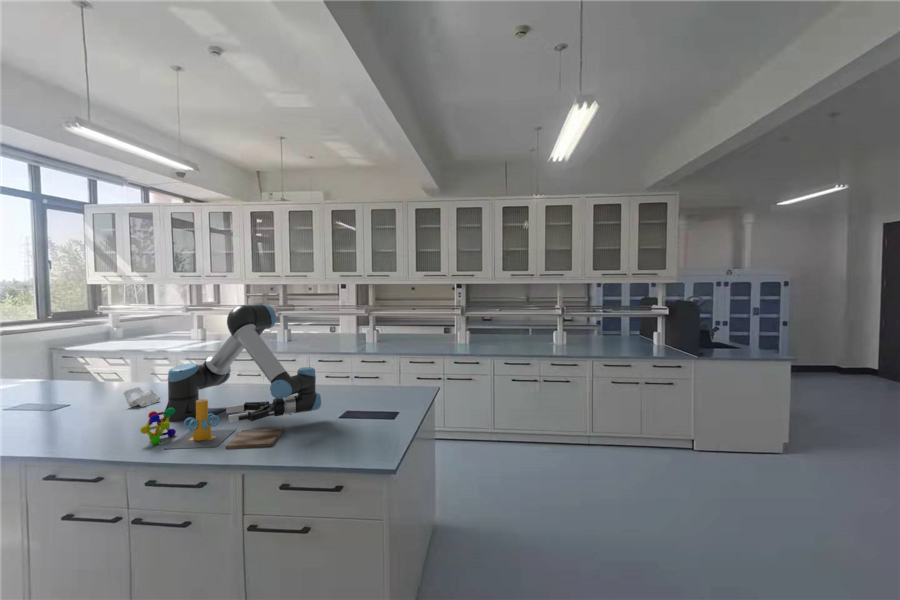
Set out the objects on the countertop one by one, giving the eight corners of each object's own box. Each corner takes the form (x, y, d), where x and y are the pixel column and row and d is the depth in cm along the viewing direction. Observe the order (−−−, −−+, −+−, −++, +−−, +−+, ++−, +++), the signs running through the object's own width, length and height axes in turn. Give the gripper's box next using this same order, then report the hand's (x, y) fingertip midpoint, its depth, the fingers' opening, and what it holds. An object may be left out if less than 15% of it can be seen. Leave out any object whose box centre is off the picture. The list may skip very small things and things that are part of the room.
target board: (242, 433, 160) (242, 430, 160) (283, 431, 162) (283, 428, 162) (225, 448, 144) (225, 445, 144) (271, 446, 146) (271, 443, 146)
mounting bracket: (151, 404, 204) (143, 385, 205) (162, 400, 204) (153, 381, 204) (131, 411, 193) (122, 391, 193) (142, 407, 192) (133, 387, 192)
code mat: (189, 431, 161) (189, 431, 161) (235, 429, 163) (235, 429, 163) (163, 449, 143) (163, 448, 143) (216, 447, 146) (216, 446, 146)
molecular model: (157, 445, 146) (157, 415, 146) (138, 445, 146) (138, 415, 146) (178, 435, 158) (178, 406, 158) (161, 435, 158) (161, 406, 158)
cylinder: (200, 445, 146) (200, 405, 146) (177, 443, 148) (177, 404, 148) (225, 433, 158) (225, 397, 158) (203, 431, 160) (203, 395, 160)
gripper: (289, 423, 159) (229, 433, 147) (278, 407, 180) (225, 415, 168) (289, 404, 159) (229, 413, 147) (278, 391, 180) (225, 397, 168)
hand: (227, 414), depth 158 cm, fingers open, 13 cm apart
